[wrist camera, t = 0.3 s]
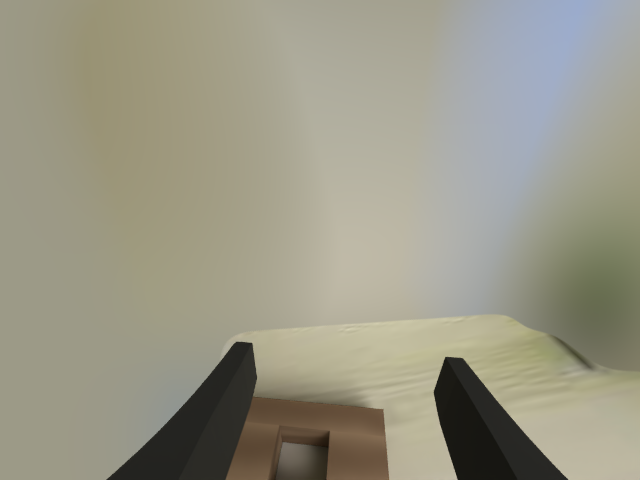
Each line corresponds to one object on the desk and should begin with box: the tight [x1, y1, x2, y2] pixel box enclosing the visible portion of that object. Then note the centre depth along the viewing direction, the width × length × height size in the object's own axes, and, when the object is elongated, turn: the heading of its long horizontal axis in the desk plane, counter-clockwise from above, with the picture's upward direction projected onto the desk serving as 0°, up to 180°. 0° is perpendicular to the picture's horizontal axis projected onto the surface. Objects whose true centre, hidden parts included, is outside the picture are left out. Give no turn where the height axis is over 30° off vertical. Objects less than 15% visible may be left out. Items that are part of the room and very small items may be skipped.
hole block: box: [226, 397, 389, 480], centre depth 23 cm, size 9×14×3 cm, turn 84°
